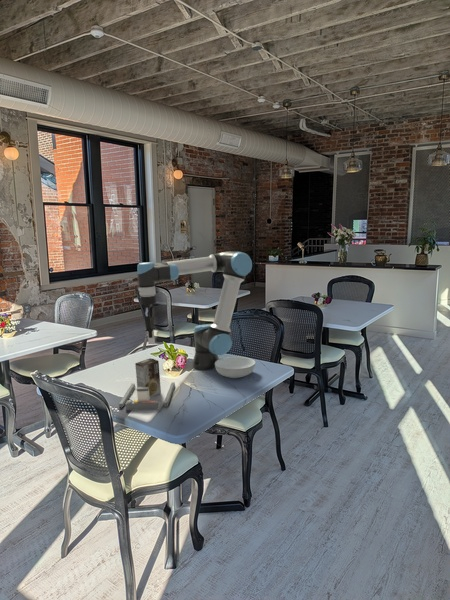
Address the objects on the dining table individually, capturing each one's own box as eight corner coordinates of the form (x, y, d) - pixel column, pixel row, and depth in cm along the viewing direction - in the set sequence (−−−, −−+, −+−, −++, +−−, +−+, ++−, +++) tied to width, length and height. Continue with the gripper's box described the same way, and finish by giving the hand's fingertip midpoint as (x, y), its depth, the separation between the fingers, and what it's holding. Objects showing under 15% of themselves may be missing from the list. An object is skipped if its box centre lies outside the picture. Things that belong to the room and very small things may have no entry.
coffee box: (152, 390, 210) (150, 357, 207) (161, 393, 206) (159, 360, 203) (137, 396, 203) (134, 362, 200) (145, 399, 199) (143, 365, 196)
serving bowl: (262, 378, 221) (262, 364, 220) (224, 385, 213) (223, 371, 212) (245, 366, 240) (245, 354, 239) (209, 372, 232) (208, 359, 231)
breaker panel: (174, 386, 214) (174, 378, 213) (166, 409, 188) (165, 400, 187) (132, 387, 214) (131, 380, 214) (117, 410, 188) (117, 402, 188)
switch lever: (150, 403, 194) (149, 386, 193) (148, 406, 190) (147, 389, 189) (139, 403, 194) (138, 386, 193) (137, 407, 190) (136, 389, 189)
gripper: (142, 293, 214) (146, 340, 218) (136, 298, 201) (141, 347, 205) (157, 292, 213) (161, 339, 218) (153, 297, 201) (157, 347, 205)
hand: (151, 343), depth 211 cm, fingers closed
